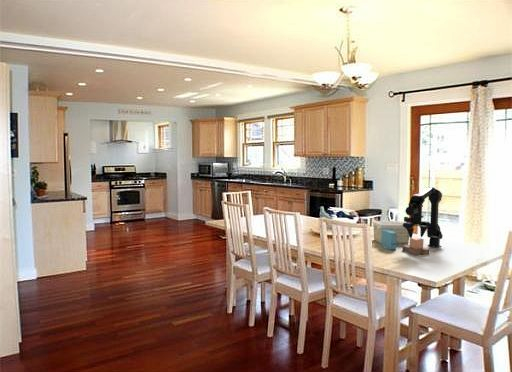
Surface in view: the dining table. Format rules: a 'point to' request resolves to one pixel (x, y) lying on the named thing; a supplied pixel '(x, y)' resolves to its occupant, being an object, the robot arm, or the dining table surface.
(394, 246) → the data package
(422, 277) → the dining table surface
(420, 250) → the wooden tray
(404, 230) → the storage basket
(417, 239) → the terracotta cube
